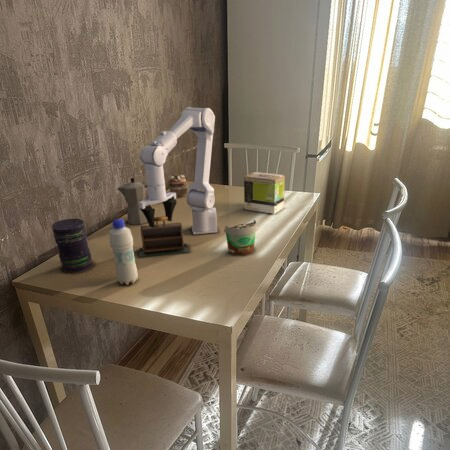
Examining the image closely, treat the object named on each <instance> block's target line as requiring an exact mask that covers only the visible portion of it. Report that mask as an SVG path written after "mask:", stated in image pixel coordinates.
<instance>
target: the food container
mask: <svg viewBox="0 0 450 450" xmlns="http://www.w3.org/2000/svg"><path fill="white" fill-rule="evenodd" d="M258 228H259V227H258V223H257V220H255V219H253V221H251V222H249V223H239V224H237V225H234V226H230V227H229V226H227V225H225V226H224V229H223V232H224V233H225V235H226V245H227V251H228V253H229V254H230V255H232V256H233V255H234V256H248V255H250V254H253V252H254V250H255V243H256V241H255V240H256V233H257V232H258Z"/></svg>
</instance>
